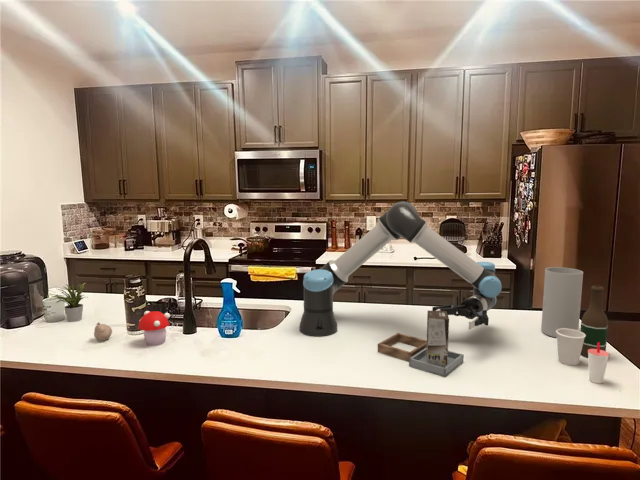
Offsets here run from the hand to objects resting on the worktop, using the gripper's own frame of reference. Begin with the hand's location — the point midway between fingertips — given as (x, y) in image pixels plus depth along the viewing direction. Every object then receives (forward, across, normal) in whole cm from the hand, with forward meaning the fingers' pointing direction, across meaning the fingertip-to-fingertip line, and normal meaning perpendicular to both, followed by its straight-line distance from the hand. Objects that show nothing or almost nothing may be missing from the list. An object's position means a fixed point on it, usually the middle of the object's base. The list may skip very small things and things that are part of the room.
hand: (449, 321), depth 144 cm
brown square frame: (+7, +13, -12) cm, 19 cm away
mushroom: (+59, +88, -12) cm, 107 cm away
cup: (-10, -42, -12) cm, 44 cm away
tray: (+10, 0, -12) cm, 15 cm away
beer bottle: (-30, -38, -12) cm, 50 cm away
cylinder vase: (-46, -24, -12) cm, 54 cm away
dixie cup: (-20, -32, -12) cm, 40 cm away
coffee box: (+10, 0, -11) cm, 15 cm away
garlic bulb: (+70, +106, -12) cm, 128 cm away
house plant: (+67, +141, -12) cm, 157 cm away
